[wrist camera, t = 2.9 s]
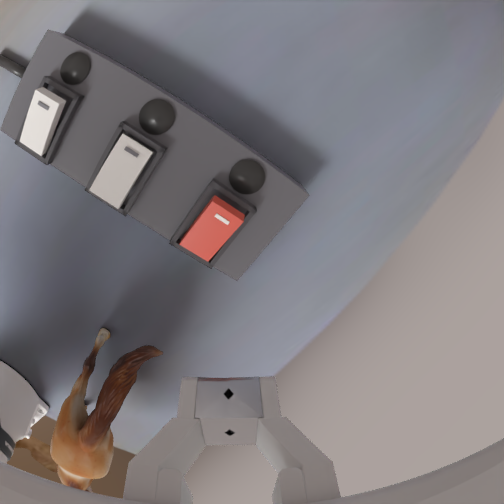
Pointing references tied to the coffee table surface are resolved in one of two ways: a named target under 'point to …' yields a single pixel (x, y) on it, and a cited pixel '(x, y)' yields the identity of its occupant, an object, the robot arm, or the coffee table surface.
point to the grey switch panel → (153, 149)
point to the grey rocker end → (42, 120)
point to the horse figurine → (93, 418)
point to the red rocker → (212, 228)
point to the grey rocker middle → (121, 170)
